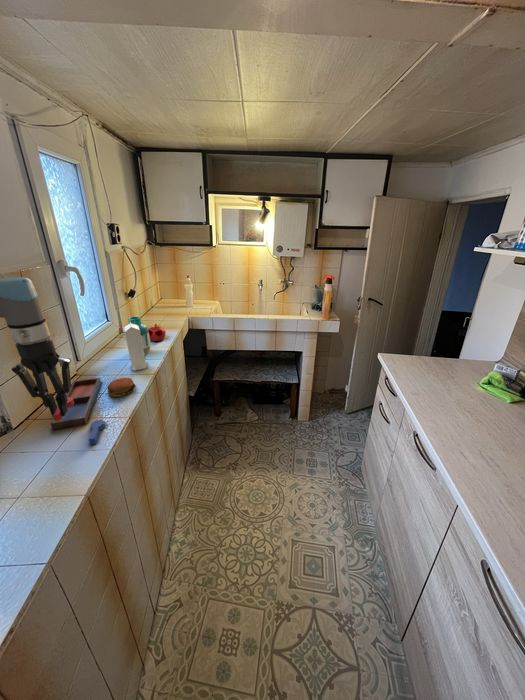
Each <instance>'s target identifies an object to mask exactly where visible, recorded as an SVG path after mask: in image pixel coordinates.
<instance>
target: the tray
mask: <svg viewBox="0 0 525 700" xmlns="http://www.w3.org/2000/svg"><path fill="white" fill-rule="evenodd" d="M101 385H102V380H101V377H100V376H99V377H93V378H85V379H78V380H73V381H72V382H71V389H70V391H69V392H68V393H66V396H67V397H72V398H73V401H74V404H73V405H72V406H71V407H68V408H67V410H68V411H67V412H66V414H65V416H63V417H62V419H61V420H58V421H54V418H53V417H52V420H51V422H50V426H51V429H52V430H53V431H54V430H60V429H65V428H70V427H71V428H72V427H77V426H82V425H87V423H88V420H89V417H90V415H91V412H92V409H93V407H94V404H95V401H96V398H97V396H98V393H99V390H100V388H101Z"/></svg>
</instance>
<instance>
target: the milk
mask: <svg viewBox="0 0 525 700" xmlns="http://www.w3.org/2000/svg"><path fill="white" fill-rule="evenodd" d="M123 331H124V336H125V341H126V345H127V351H128V355H129V359H130V364H131V368H132V371H133V372H134V371H139V370H144V369H147V368H148V366H147V361H146V357H145V354H144V351H143V345H142V340H141V335H140V330H139V327H138V326H137V325H135V324H132V323H130V324H129V323H128V324H127V325H125V326H124V327H123Z"/></svg>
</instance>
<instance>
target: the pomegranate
mask: <svg viewBox="0 0 525 700" xmlns="http://www.w3.org/2000/svg"><path fill="white" fill-rule="evenodd" d="M148 332H149V336H150V342H161V341H164V339H165V337H166V333H167V331H166V329H164V328H163V327H162V326H161V325H158V324H157V323H155V324H154V325H153V326H151V327H149V328H148Z"/></svg>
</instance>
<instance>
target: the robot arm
mask: <svg viewBox="0 0 525 700" xmlns="http://www.w3.org/2000/svg"><path fill="white" fill-rule="evenodd" d="M43 311H44V310H43V308H42V304H41V302H40V298H39V293H37V290H36V288H35V286H34V283H33V281H32V280H31V279H30V278H28V277H24V276H16V277H14V276H13V277H12V276H11V277H2V278H0V318H4V319H5V322H6V325H7V327H8V330H9V332H10V335H11V337H12V340H13V342H14V343H15V348H16V351H17V353H18V356H19V357H20V362H19V363H16V364H15V365H14V366H13V367H11V371H12V372H13V373H14V374H15V375H17V376H18V378H19V379H20V381H21V382H22V384H23V386H24V387H25V388H26V390H27V391H28V393H29V394H30V397H32V398H33V399H34V398H40V399H41V400H42V403H43V406H44V407H45V408H48V409H49V411H50V414H51V417H52V418H53V416H52V415H53V414H54V412H55V411H56V409H57V407H59V410H60V412H61V415H62V416H65V414H66V412H67V411H68V410H67V407H66V403H67V401H68V399H67V396H66V394H67V393H68V392H69V391H70V389H71V385H72V379H71V370H70V369H71V368H70V365H71V362H72V359H71V358H70V357H66V358H64V357H60V355H59V353H58V352H57V351H56V347H55V344H54V342H53V338H52V337H51V332H50V329H49V327H48V323H47V320H46V318H45V314H44V312H43ZM58 363H59V366H60V368H61V377H60V376H59V373H58V369H57V367H56V366H57V365H58ZM28 370H29V371H31V373H32V375H31V374H30V372H29V371H28ZM45 374H46V376H47V377H48V378H49V380H50V382H51V384H52V387H53V389H54V391H55V393H56V396H54V394H53V393H52V392H50V390H49V389H48V386H47V382H46V376H45ZM32 376H33V377H32ZM61 378H62V380H61Z"/></svg>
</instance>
